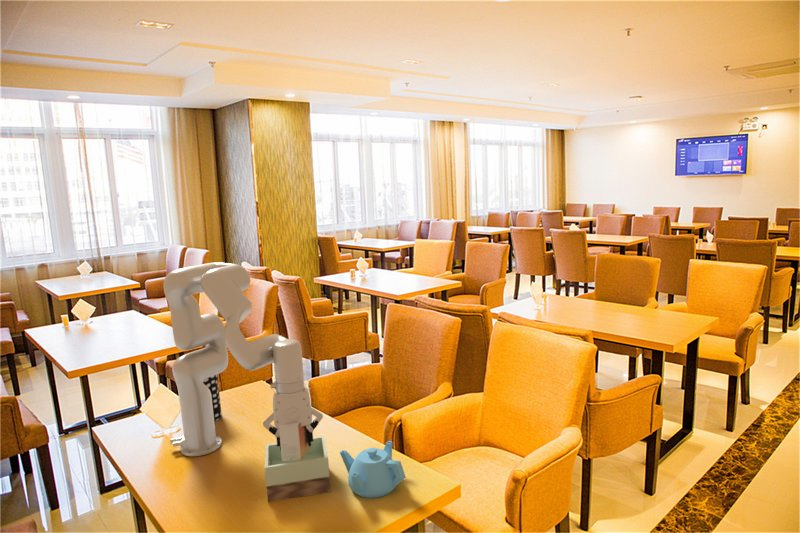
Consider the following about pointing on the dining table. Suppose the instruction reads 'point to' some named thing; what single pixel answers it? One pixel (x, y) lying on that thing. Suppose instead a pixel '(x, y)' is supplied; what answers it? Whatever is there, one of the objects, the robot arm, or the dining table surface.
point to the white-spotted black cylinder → (214, 395)
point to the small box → (293, 441)
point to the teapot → (373, 471)
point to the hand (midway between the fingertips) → (295, 445)
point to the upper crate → (296, 464)
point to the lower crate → (298, 489)
